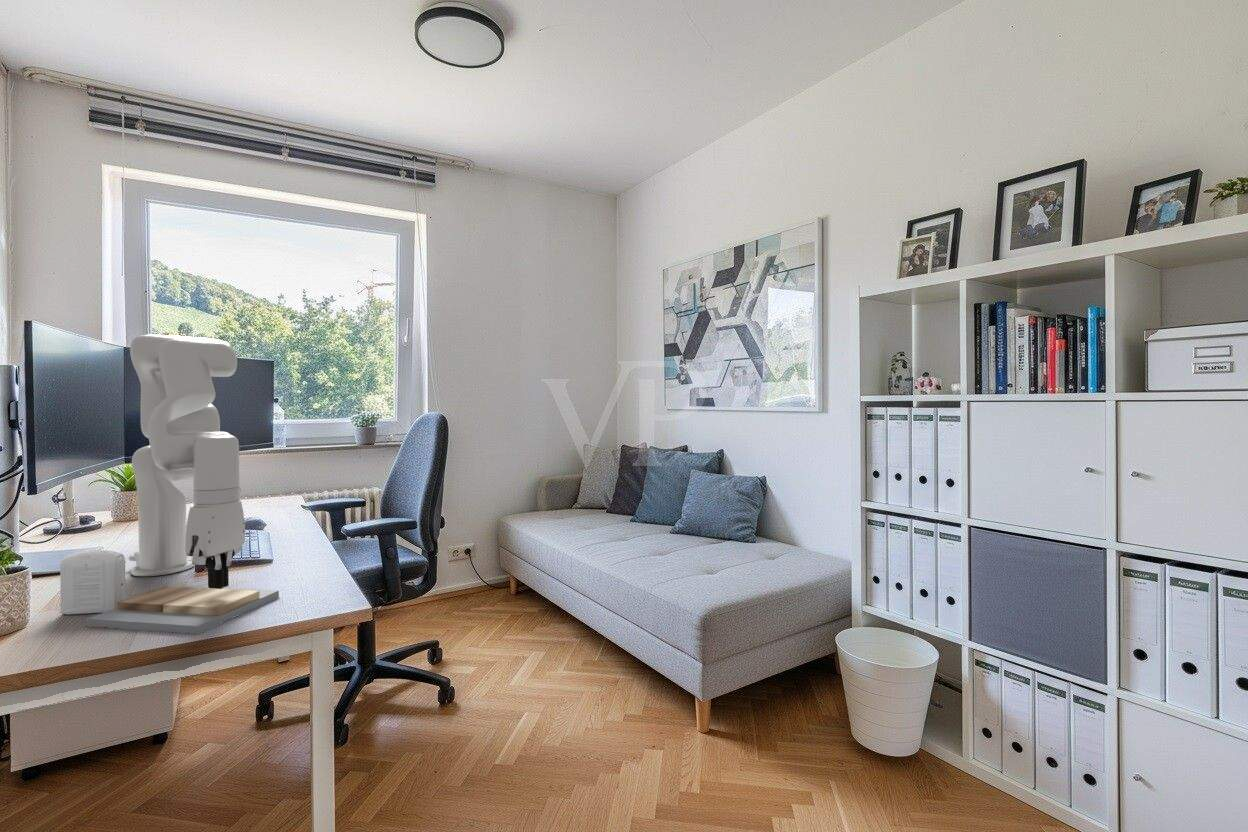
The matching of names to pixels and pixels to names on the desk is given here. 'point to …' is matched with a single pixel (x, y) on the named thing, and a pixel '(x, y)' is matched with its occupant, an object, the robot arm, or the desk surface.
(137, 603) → the flat wooden square
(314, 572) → the desk surface
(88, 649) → the desk surface
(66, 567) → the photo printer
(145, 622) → the floor board
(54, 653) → the desk surface
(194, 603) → the oak plank
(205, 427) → the robot arm
